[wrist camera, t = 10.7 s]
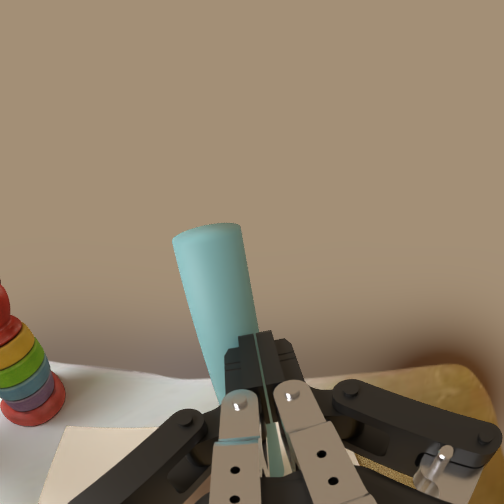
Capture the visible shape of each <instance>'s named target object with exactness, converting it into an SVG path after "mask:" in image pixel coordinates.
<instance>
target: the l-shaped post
mask: <svg viewBox="0 0 504 504" xmlns="http://www.w3.org/2000/svg"><path fill="white" fill-rule="evenodd" d="M172 243H173V247H174V251H175V255H176V259H177V263H178V268H179V271H180V275H181V279H182V283H183V287H184V290H185V294H186V298H187V301H188V305H189V309H190V312H191V316H192V319H193V323H194V326H195V329H196V333H197V336H198V340H199V343H200V346H201V349H202V353H203V356H204V359H205V362H206V365H207V368H208V372H209V375H210V378H211V381H212V384H213V387H214V390H215V393H216V396H217V398H218V401H219V404H220V405H221V402H222V399H223V398H224V397H225V370H224V366H225V365H224V355H225V354H226V352H227V350H228V349H229V348H235V347H239V343H238V336H242V335H247V334H254V339H255V344H256V350H257V355H258V360H259V365H260V370H261V376H262V381H263V386H264V392H265V397H266V402H267V407H268V412H269V418H270V424H266V428H267V444H268V457H269V470H270V477H283V476H284V466H283V460H282V455H281V450H280V444H279V439H278V433H277V428H276V423H275V422H274V423H273V420H272V415H271V410H270V405H269V400H268V395H267V390H266V385H265V380H264V375H263V370H262V365H261V359H260V354H259V349H258V343H257V338H256V333H258V332H259V329H258V323H257V318H256V313H255V307H254V301H253V295H252V290H251V284H250V278H249V273H248V267H247V261H246V255H245V250H244V244H243V238H242V233H241V227H240V225H238V224H234V223H218V224H211V225H206V226H201V227H197V228H194V229H190V230H187V231H185V232H182V233H181V234H178V235H177V236H175V237H174V238H173V240H172ZM210 483H211V475H210V476H209V477H208V478H207V479H206V480H205V481H204V482H203V483H202V484H201V485H200V486H199V487H198V489H197V490H196V491H195V492H194V493H193V494H192V495H191V496H190V497H189V498H188V499H187V500H186V501H185V502H184V503H183V504H194V503H195V502H196V501H197V500H199V499H200V498H201V497H202V496H204V495H205V494H207V493H209V492H210Z"/></svg>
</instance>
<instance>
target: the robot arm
mask: <svg viewBox="0 0 504 504" xmlns="http://www.w3.org/2000/svg"><path fill="white" fill-rule="evenodd" d="M256 338H257V343H258V349H259V354H260V359H261V365H262V370H263V375H264V380H265V385H266V390H267V395H268V400H269V405H270V410H271V415H272V420H273V423H274V422H278V425H279V429H280V435H281V439H282V442H283V445H284V448H285V451H286V454H287V457H288V460H289V463H290V466H291V469H292V473H291V474H288V475H286V476H283V477H270V470H269V457H268V444H267V428H266V424H270V418H269V412H268V407H267V402H266V397H265V392H264V386H263V381H262V376H261V370H260V365H259V360H258V355H257V350H256V344H255V339H254V334H247V335H242V336H238V343H239V347H235V348H229V349H228V350H227V352H226V354H225V355H224V365H225V366H224V370H225V397H224V398H223V399H222V402H221V405H220V406H219V407H217V408H216V409H214V410H212V411H209V412H207V413H204V414H201V413H200V412H199V411H197V410H195V409H183V410H180V411H177V412H176V413H174V414H173V415H172V416H171V417H170V418H169V419H167V420H166V421H165V422H164V423H163V424H162V425H161V426H160V427H159V428H157V429H156V430H155V431H154V432H153V433H152V434H151V435H150V436H148V437H147V438H146V439H145V440H144V441H143V442H142V443H140V444H139V445H138V446H137V447H136V448H135V449H134V450H132V451H131V452H130V453H129V454H128V455H127V456H125V457H124V458H123V459H122V460H121V461H119V462H118V463H117V464H116V465H115V466H113V467H112V468H111V469H110V470H109V471H107V472H106V473H105V474H104V475H102V476H101V477H100V478H99V479H98V480H96V481H95V482H94V483H93V484H91V485H90V486H89V487H88V488H86V489H85V490H84V491H82V492H81V493H80V494H79V495H77V496H76V497H75V498H73V499H72V500H71V501H70V502H68V504H183V503H184V502H185V501H186V500H187V499H188V498H189V497H190V496H191V495H192V494H193V493H194V492H195V491H196V490H197V489H198V487H199V486H200V485H201V484H202V483H203V482H204V481H205V480H206V479H207V478H208V477H209V476H210V475H211V483H210V492H209V493H207V494H205V495H204V496H202V497H201V498H200V499H199V500H197V501H196V502H195V503H194V504H468V502H469V500H470V498H471V496H472V493H473V491H474V489H475V487H476V484H477V482H478V480H479V477H480V475H481V472H482V470H483V469H484V467H485V466H486V465H487V463H488V462H489V461H490V459H491V458H492V457H493V455H494V454H495V453H496V451H497V450H498V448H499V447H500V445H501V443H502V433H501V431H500V429H499V428H498V427H497V426H496V425H494V424H492V423H489V422H485V421H481V420H478V419H474V418H470V417H467V416H463V415H460V414H457V413H453V412H450V411H447V410H443V409H440V408H437V407H434V406H431V405H428V404H425V403H422V402H419V401H416V400H413V399H410V398H407V397H404V396H401V395H398V394H395V393H392V392H390V391H387V390H384V389H381V388H379V387H376V386H373V385H371V384H368V383H365V382H363V381H360V380H356V379H348V380H344V381H341V382H339V383H338V384H337V385H336V386H335V387H334V388H333V390H319V389H315V388H312V387H310V386H309V385H308V384H307V383H306V382H305V381H304V378H303V375H302V372H301V370H300V367H299V364H298V361H297V359H296V356H295V353H294V350H293V347H292V344H291V343H290V342H288V341H287V340H286V339H285V338H284V339H279V340H274V339H273V335H272V332H271V330H269V331H263V332H258V333H256ZM345 448H346V449H348V450H350V451H352V452H354V453H357V454H359V455H361V456H363V457H365V458H368V459H370V460H372V461H374V462H377V463H379V464H381V465H383V466H386V467H388V468H391V469H393V470H395V471H398V472H400V473H403V474H406V475H408V476H411V477H413V483H414V486H415V487H416V489H417V490H416V489H413V488H411V487H409V486H406V485H404V484H402V483H400V482H397V481H395V480H393V479H391V478H388V477H386V476H384V475H382V474H380V473H378V472H376V471H374V470H371V469H369V468H366V467H363V466H358V465H353V463H352V461H351V459H350V457H349V455H348V453H347V451H346V449H345ZM418 490H419V491H418Z"/></svg>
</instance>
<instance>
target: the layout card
mask: <svg viewBox="0 0 504 504" xmlns="http://www.w3.org/2000/svg"><path fill="white" fill-rule="evenodd" d="M275 423H276V428H277V433H278V439H279V444H280V450H281V455H282V460H283V466H284V476H286V475H288V474H291V473H292V469H291V466H290V463H289V460H288V457H287V454H286V451H285V448H284V445H283V442H282V439H281V435H280V429H279V425H278V422H275ZM157 428H159V427H148V428H97V427H77V426H66V428H65V430H64V433H63V435H62V438H61V440H60V443H59V445H58V448H57V450H56V453H55V456H54V458H53V461H52V464H51V466H50V469H49V472H48V475H47V477H46V480H45V483H44V486H43V489H42V492H41V495H40V498H39V501H38V504H68V502H70V501H71V500H72V499H73V498H75V497H76V496H77V495H79V494H80V493H81V492H82V491H84V490H85V489H86V488H88V487H89V486H90V485H91V484H93V483H94V482H95V481H96V480H98V479H99V478H100V477H101V476H102V475H104V474H105V473H106V472H107V471H109V470H110V469H111V468H112V467H113V466H115V465H116V464H117V463H118V462H119V461H121V460H122V459H123V458H124V457H125V456H127V455H128V454H129V453H130V452H131V451H132V450H134V449H135V448H136V447H137V446H138V445H139V444H140V443H142V442H143V441H144V440H145V439H146V438H147V437H148V436H150V435H151V434H152V433H153V432H154V431H155V430H156V429H157ZM345 449H346V448H345ZM346 451H347V453H348V455H349V457H350V459H351V461H352V463H353V465H358V466H359V463H358V461H357V459H356V456H355V454H354V452H352V451H350V450H348V449H346Z"/></svg>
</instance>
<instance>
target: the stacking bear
mask: <svg viewBox="0 0 504 504" xmlns="http://www.w3.org/2000/svg"><path fill="white" fill-rule="evenodd" d="M0 397H1V398H2V401H1V404H0V408H1V411H2V413H3V414H4V415H5V417H6V418H7V419H8V420H10V421H11V422H13V423H15V424H18V425H23V426H35V425H39V424H42V423H44V422H46V421H48V420H49V419H51V418H52V417H53V416H54V415H56V414H57V412H58V411H59V410H60V409H61V407H62V405H63V403H64V400H65V389H64V386H63V384H62V382H61V380H60V379H59V378H58V376H57V375H56V374H55V373H54V372H52V371H51V369H50V365H49V362H48V359H47V357H46V354H45V353H44V351H43V348H42V347H41V345H40V343H39V342H38V341H37V339H36V338H35V337H34V336H33V334H32V332H31V331H30V330H29V328H28V327H27V326H26V325H25V324H24V323H23V322H21V321H20V320H19V319H18V318H16V317H14V316H12V315H10V303H9V298H8V295H7V293H6V291H5V289H4V287H2V285H1V280H0Z"/></svg>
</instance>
